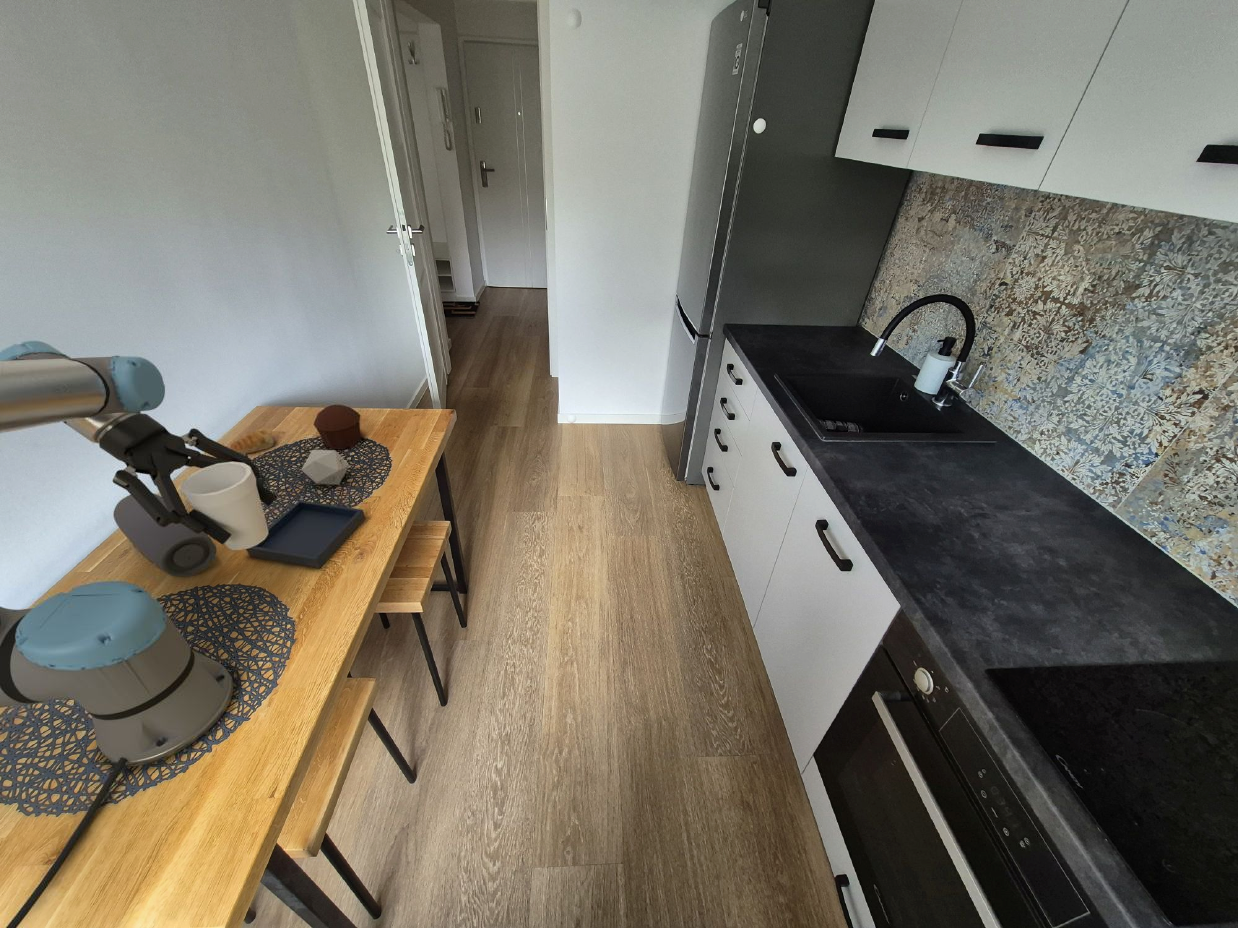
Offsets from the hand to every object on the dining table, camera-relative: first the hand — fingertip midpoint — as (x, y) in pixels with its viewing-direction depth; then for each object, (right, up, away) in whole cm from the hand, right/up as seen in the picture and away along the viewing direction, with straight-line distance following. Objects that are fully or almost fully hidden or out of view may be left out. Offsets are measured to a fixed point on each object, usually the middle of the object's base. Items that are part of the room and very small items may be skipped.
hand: (251, 519), depth 84 cm
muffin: (-13, +16, +51) cm, 55 cm away
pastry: (-34, +14, +47) cm, 60 cm away
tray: (-3, -6, +20) cm, 21 cm away
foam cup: (-3, -4, +3) cm, 6 cm away
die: (-8, +5, +37) cm, 38 cm away
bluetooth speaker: (-26, -8, +15) cm, 32 cm away
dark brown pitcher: (-27, +4, +34) cm, 43 cm away
